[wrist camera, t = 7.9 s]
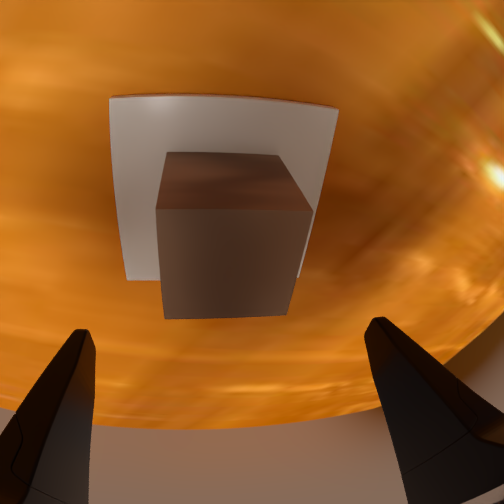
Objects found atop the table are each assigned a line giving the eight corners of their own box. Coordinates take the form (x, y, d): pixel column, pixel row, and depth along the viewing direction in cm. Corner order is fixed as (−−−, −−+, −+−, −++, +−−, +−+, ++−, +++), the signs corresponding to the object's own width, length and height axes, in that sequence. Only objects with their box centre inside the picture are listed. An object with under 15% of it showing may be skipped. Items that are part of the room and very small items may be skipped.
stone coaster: (334, 106, 14) (339, 110, 13) (296, 270, 20) (298, 277, 19) (112, 96, 12) (109, 98, 11) (128, 273, 18) (126, 280, 17)
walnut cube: (278, 155, 14) (313, 211, 10) (263, 243, 17) (286, 315, 13) (166, 151, 13) (155, 209, 9) (168, 244, 16) (164, 319, 12)
